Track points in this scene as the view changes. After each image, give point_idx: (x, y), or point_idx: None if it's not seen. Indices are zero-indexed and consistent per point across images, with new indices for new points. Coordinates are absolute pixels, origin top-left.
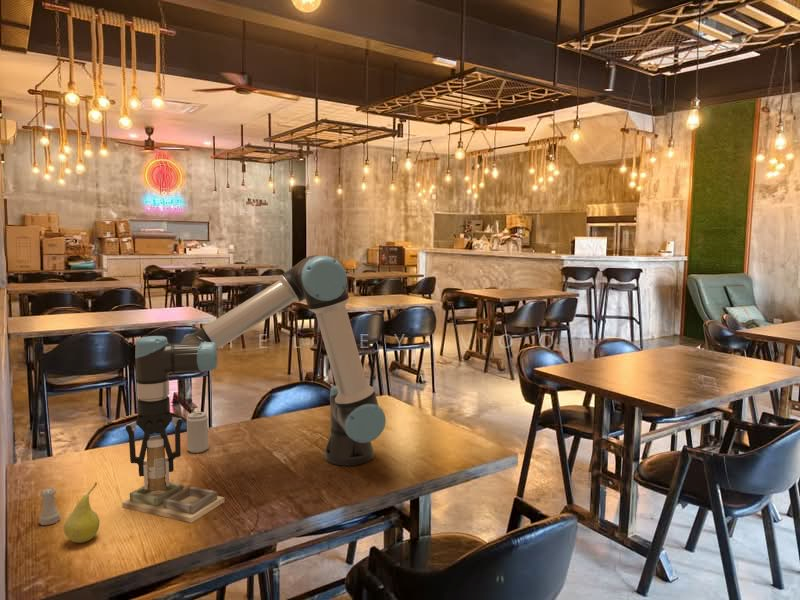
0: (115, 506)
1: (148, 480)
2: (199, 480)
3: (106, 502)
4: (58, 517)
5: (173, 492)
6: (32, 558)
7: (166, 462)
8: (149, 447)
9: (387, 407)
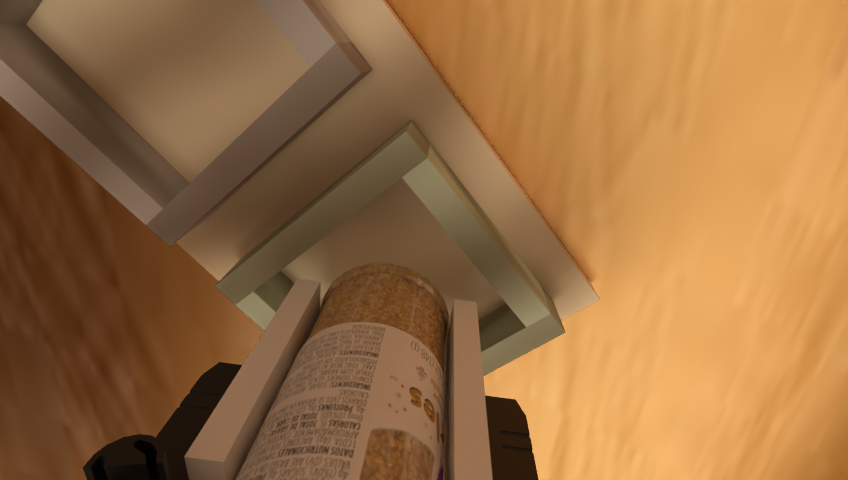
0: (619, 310)
1: (442, 354)
2: (177, 391)
3: (644, 376)
4: None
5: (286, 225)
6: None
7: (216, 451)
8: None
9: None
